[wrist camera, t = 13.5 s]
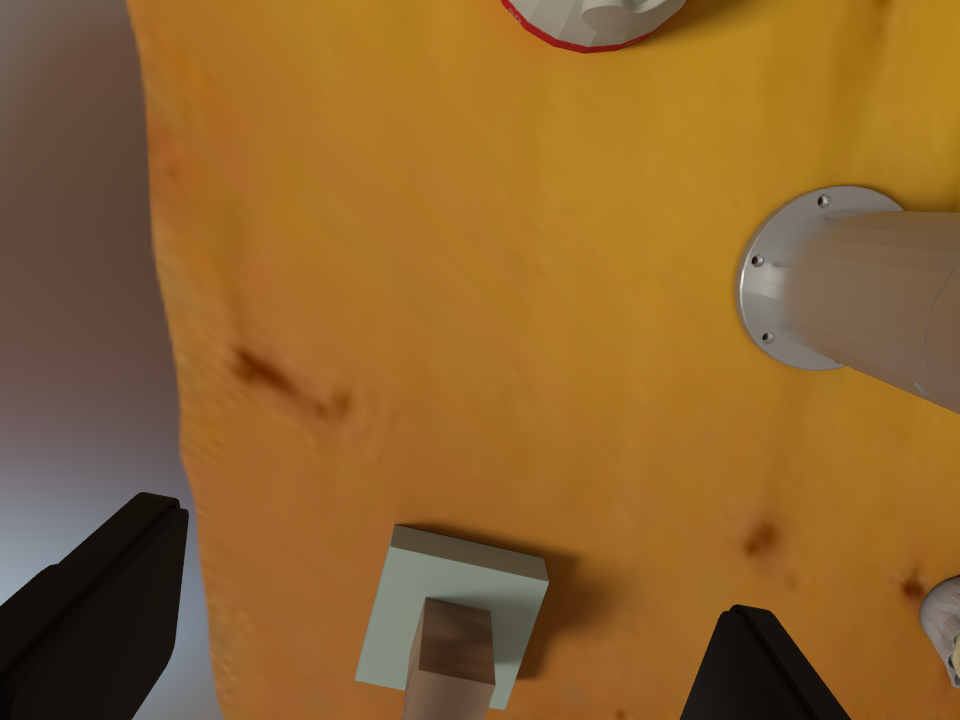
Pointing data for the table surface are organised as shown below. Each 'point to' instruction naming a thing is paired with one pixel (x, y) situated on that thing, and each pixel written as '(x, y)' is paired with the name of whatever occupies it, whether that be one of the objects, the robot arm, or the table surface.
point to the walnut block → (450, 664)
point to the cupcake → (944, 624)
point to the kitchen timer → (592, 21)
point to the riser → (457, 579)
